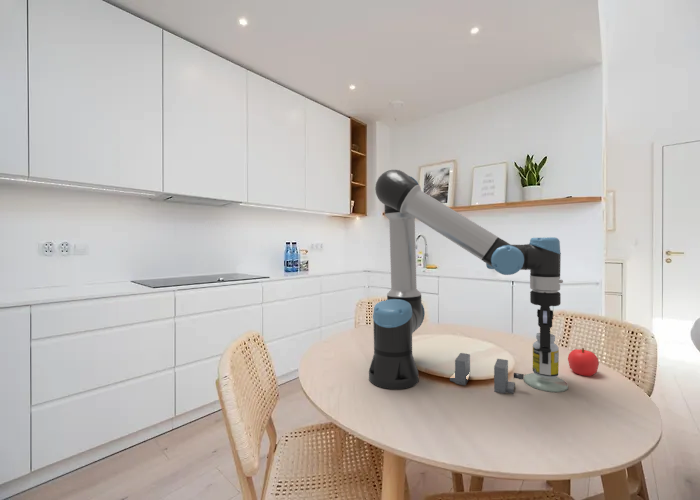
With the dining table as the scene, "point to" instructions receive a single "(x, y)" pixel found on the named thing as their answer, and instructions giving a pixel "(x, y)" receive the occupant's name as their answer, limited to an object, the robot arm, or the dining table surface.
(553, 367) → the pill bottle
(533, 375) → the pale green round disc
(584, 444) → the dining table surface
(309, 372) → the dining table surface
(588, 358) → the apple
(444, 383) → the dining table surface
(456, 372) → the vise
